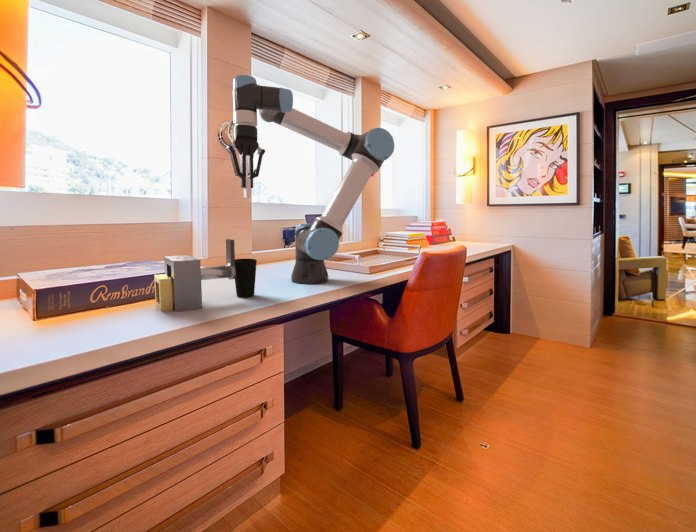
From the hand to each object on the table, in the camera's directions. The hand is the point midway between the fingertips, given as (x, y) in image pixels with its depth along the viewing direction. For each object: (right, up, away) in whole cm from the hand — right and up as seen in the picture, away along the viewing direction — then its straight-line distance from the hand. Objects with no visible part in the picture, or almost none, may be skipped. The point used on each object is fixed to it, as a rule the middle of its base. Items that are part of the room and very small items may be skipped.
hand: (247, 197), depth 128 cm
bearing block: (-14, -35, -17) cm, 42 cm away
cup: (0, -33, -4) cm, 34 cm away
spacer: (-18, -35, -21) cm, 45 cm away
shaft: (-9, -28, -14) cm, 33 cm away
